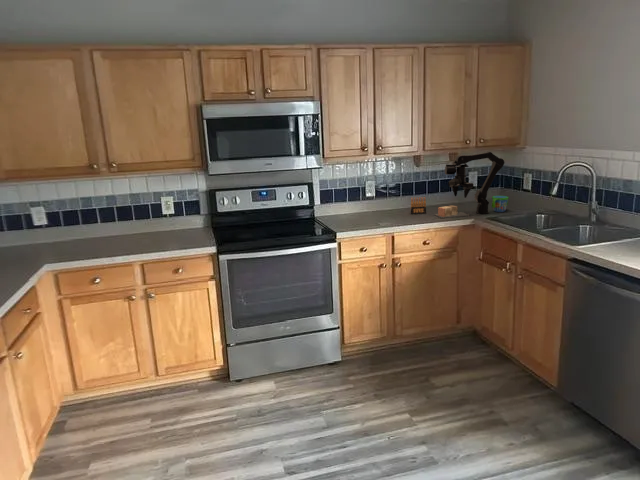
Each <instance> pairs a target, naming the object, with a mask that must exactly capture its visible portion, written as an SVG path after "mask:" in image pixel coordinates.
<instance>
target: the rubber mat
mask: <svg viewBox="0 0 640 480" xmlns="http://www.w3.org/2000/svg"><path fill="white" fill-rule="evenodd" d="M434 216H436V217H437V218H439V219H448V218H449V219H450V218H459V217H462V218H463V217H469V216H470V214H469V213H466V212H463V211H457V215H451V216H445V217H442V216H438V213H435V214H434Z"/></svg>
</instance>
